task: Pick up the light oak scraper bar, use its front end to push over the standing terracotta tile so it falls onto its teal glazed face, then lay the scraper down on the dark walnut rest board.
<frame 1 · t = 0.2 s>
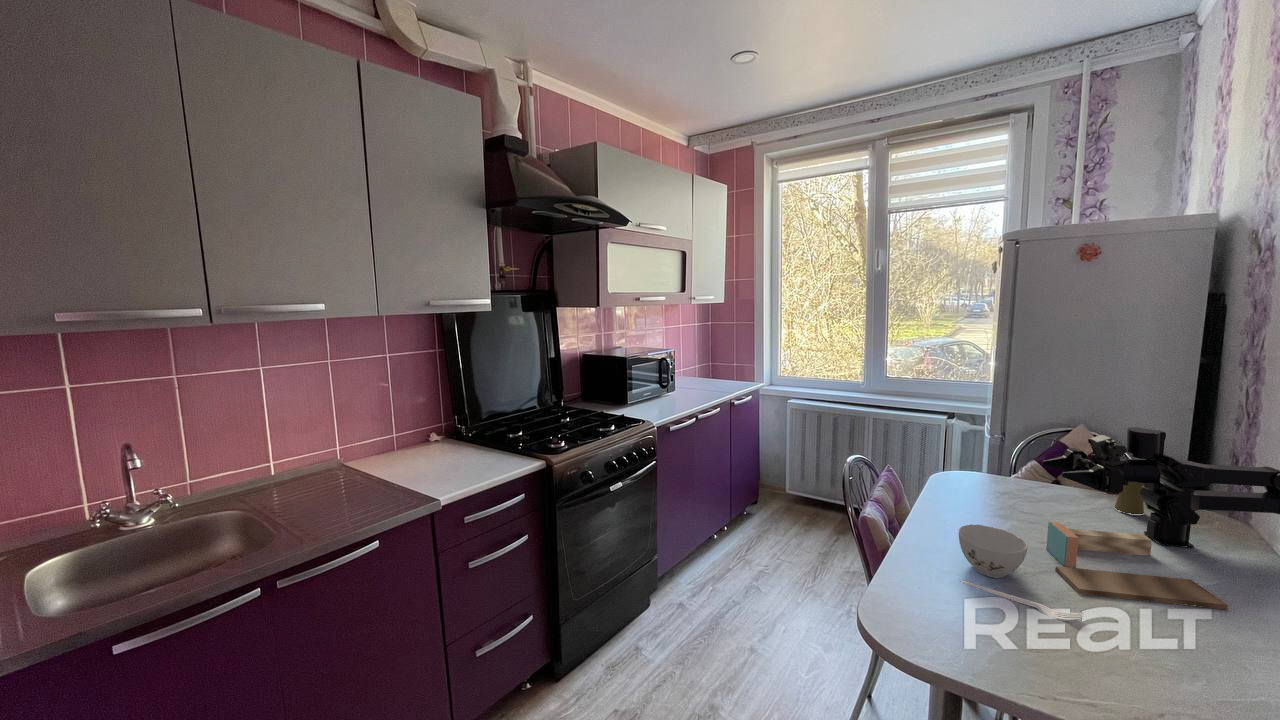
hand: (1052, 468, 129), 16 cm above the table, tool horizontal, fingers open, 9 cm apart
glazed tile: (1060, 558, 118), on the table
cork: (1128, 512, 142), on the table
fork: (1016, 603, 102), on the table
floral ceramic bowl: (992, 570, 114), on the table
oak scraper: (1104, 550, 122), on the table
rest board: (1135, 588, 105), on the table
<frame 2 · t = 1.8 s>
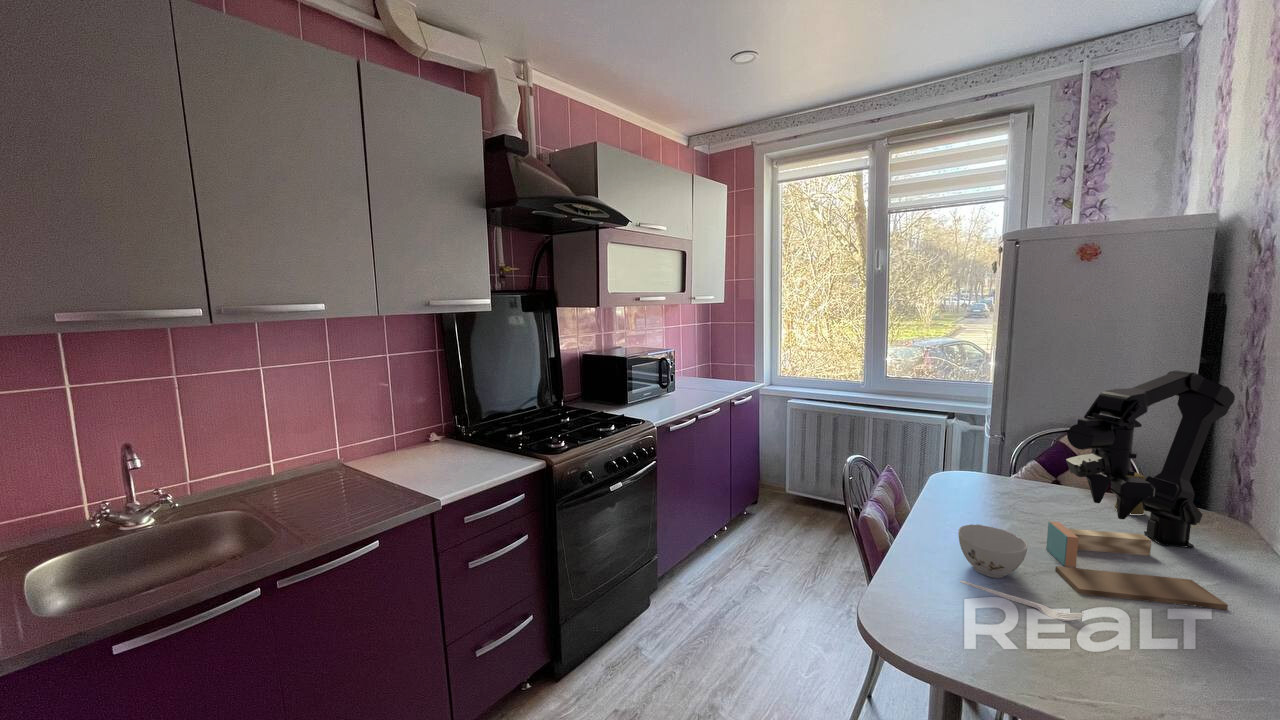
hand: (1108, 510, 120), 9 cm above the table, tool pointing down, fingers open, 9 cm apart
nothing on the table moved.
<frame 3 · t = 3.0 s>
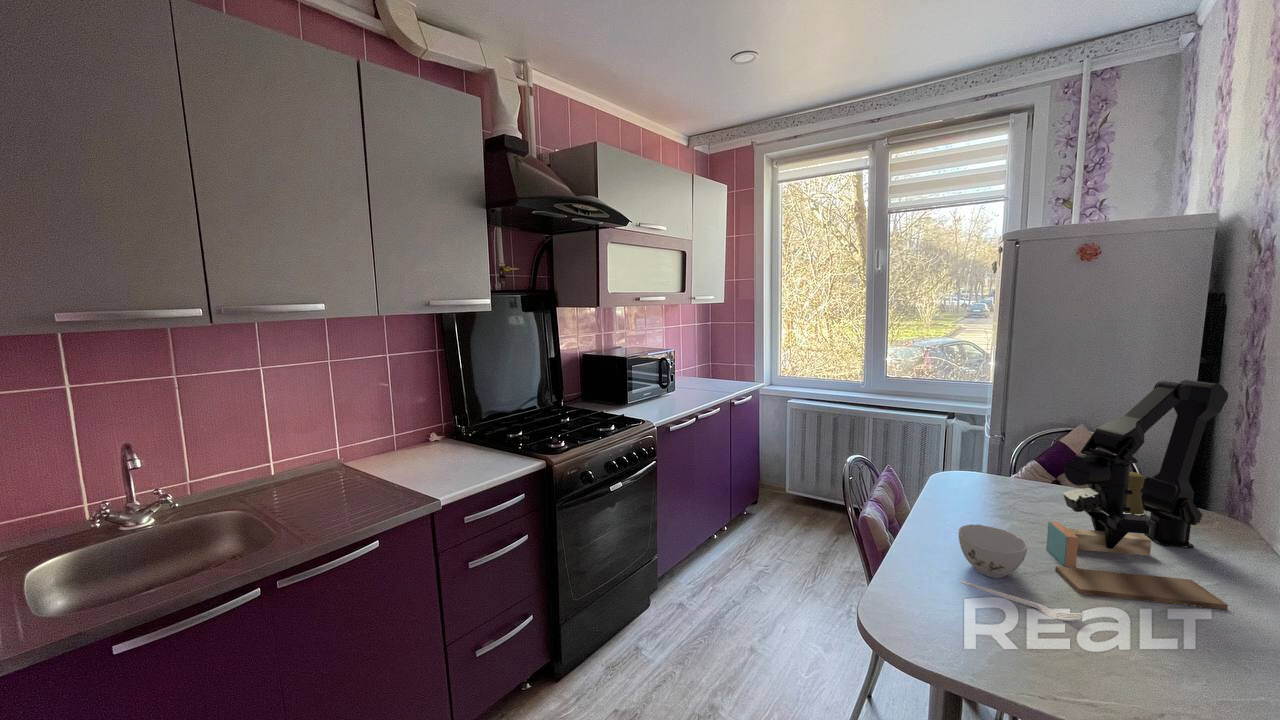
hand: (1104, 544, 121), 1 cm above the table, tool pointing down, fingers closed on oak scraper, 3 cm apart
oak scraper: (1104, 550, 122), on the table, touching gripper
everything else where it was.
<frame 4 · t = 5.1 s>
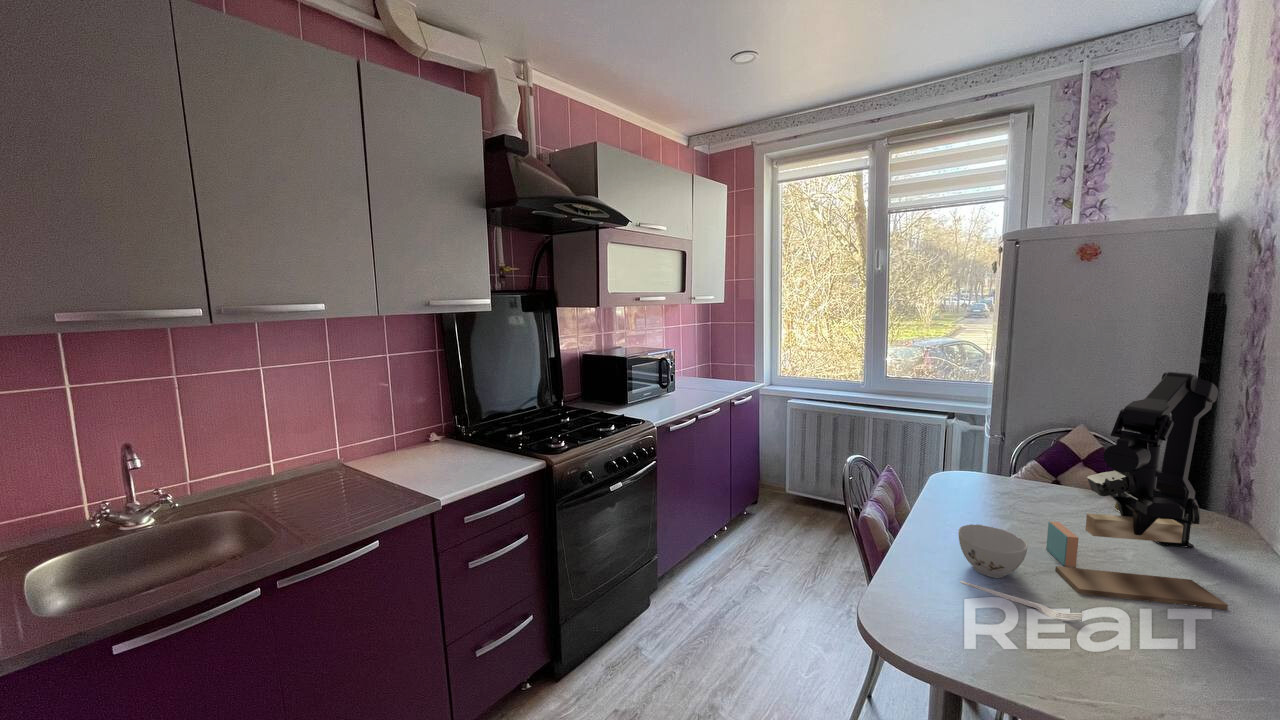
hand: (1132, 531, 114), 8 cm above the table, tool pointing down, fingers closed on oak scraper, 3 cm apart
oak scraper: (1131, 536, 114), point 7 cm above the table, touching gripper
everything else where it was.
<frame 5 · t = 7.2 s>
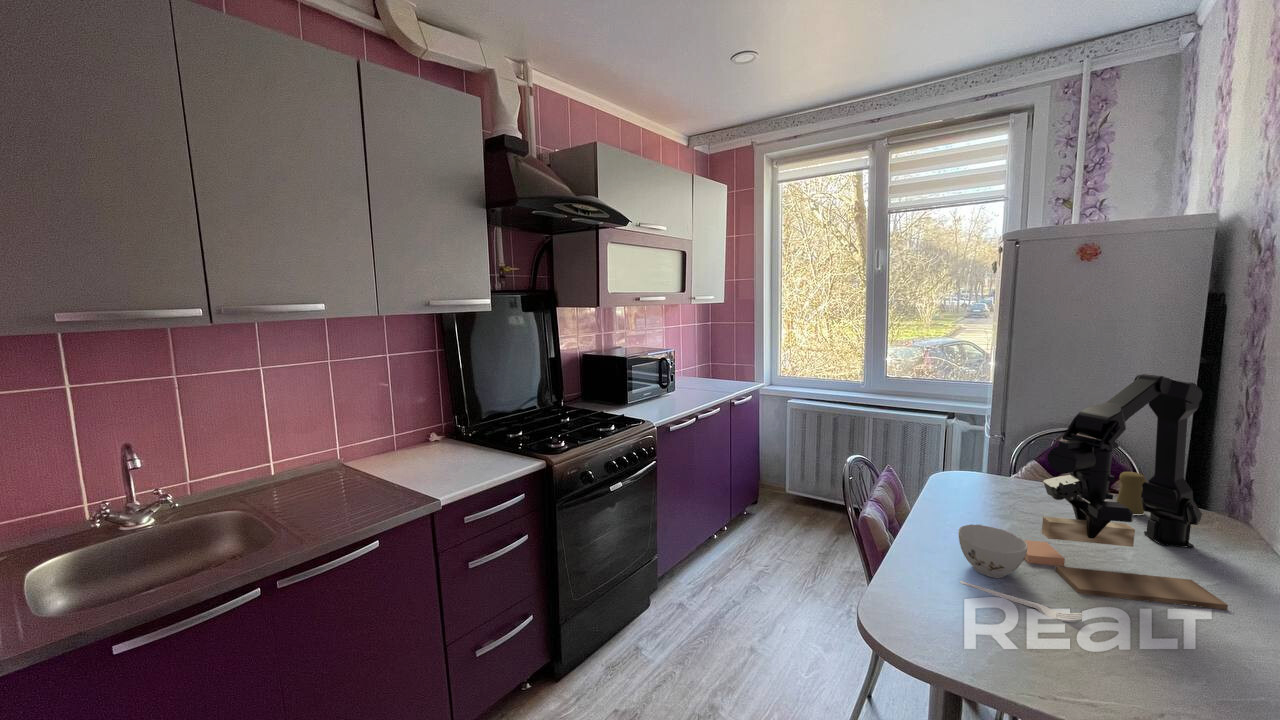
hand: (1086, 534, 116), 6 cm above the table, tool pointing down, fingers closed on oak scraper, 3 cm apart
glazed tile: (1055, 554, 118), point 1 cm above the table, tilted 90°
oak scraper: (1086, 539, 116), point 5 cm above the table, touching gripper
everything else where it was.
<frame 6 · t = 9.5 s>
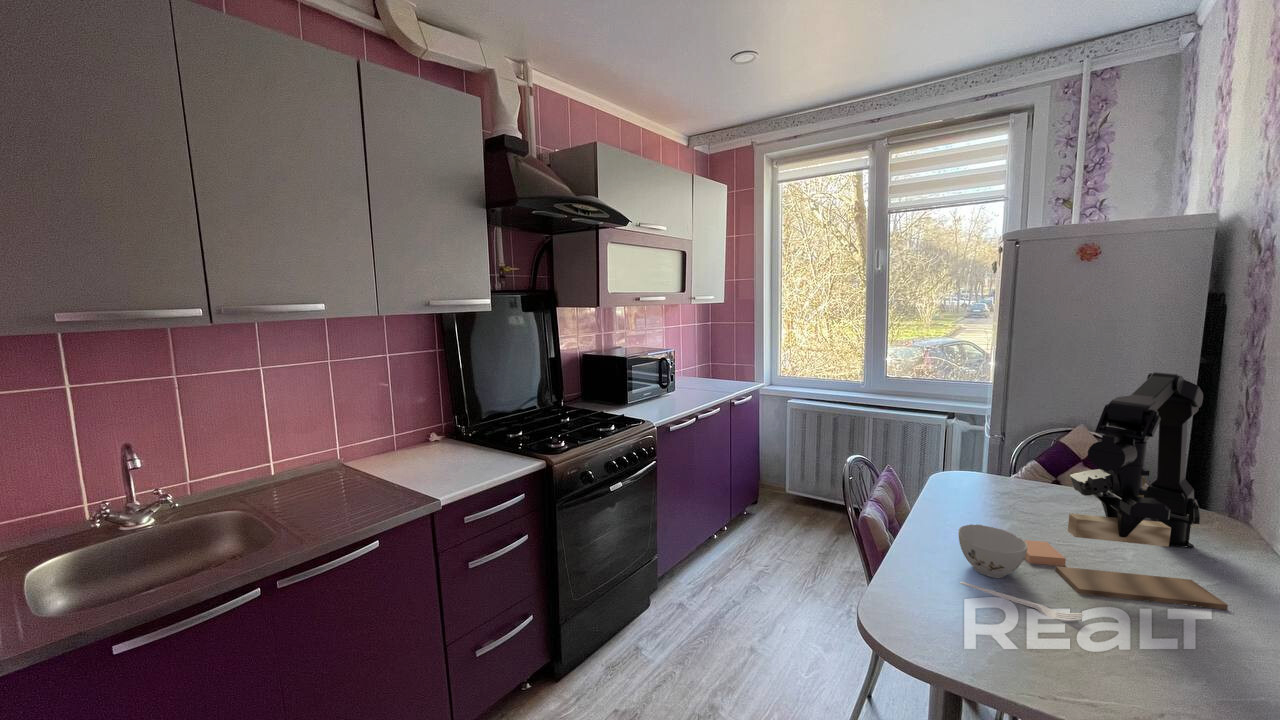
hand: (1117, 533, 108), 10 cm above the table, tool pointing down, fingers closed on oak scraper, 3 cm apart
oak scraper: (1116, 538, 108), point 9 cm above the table, touching gripper
everything else where it was.
when the fingers open (3 cm above the table, at t = 11.3 s): oak scraper stays where it is, resting on rest board.
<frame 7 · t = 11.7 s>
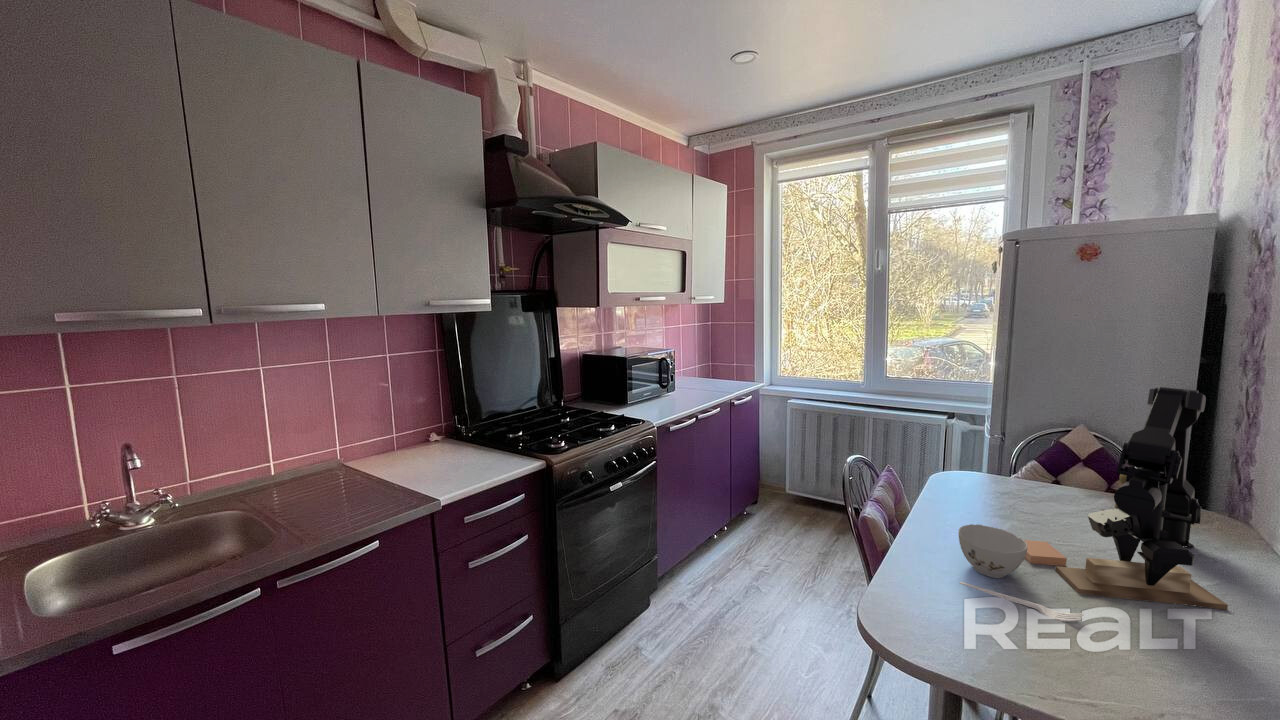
hand: (1136, 574, 105), 3 cm above the table, tool pointing down, fingers open, 7 cm apart
oak scraper: (1135, 583, 105), point 1 cm above the table, touching rest board
everything else where it was.
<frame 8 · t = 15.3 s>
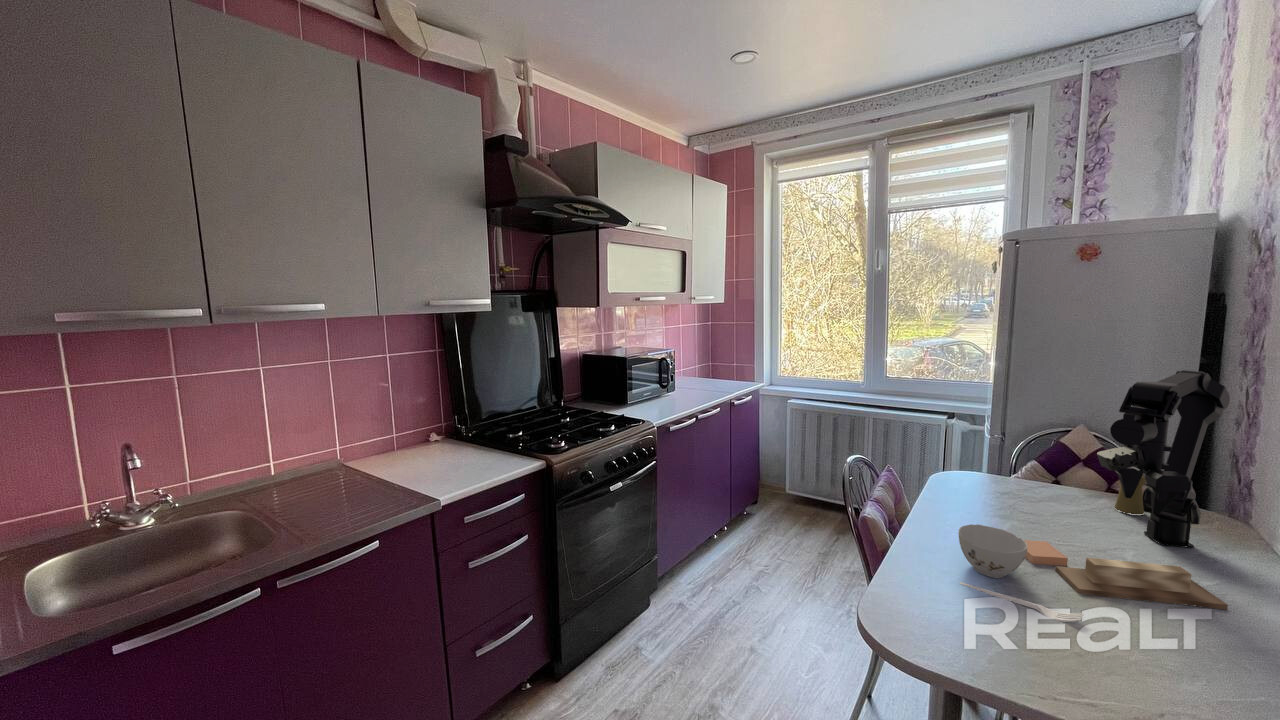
hand: (1141, 505, 117), 12 cm above the table, tool pointing down, fingers open, 9 cm apart
nothing on the table moved.
at the end: glazed tile tilted 90°; glazed tile inside the target area (4.0 cm from its centre), point 0.7 cm above the table; oak scraper touching rest board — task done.
